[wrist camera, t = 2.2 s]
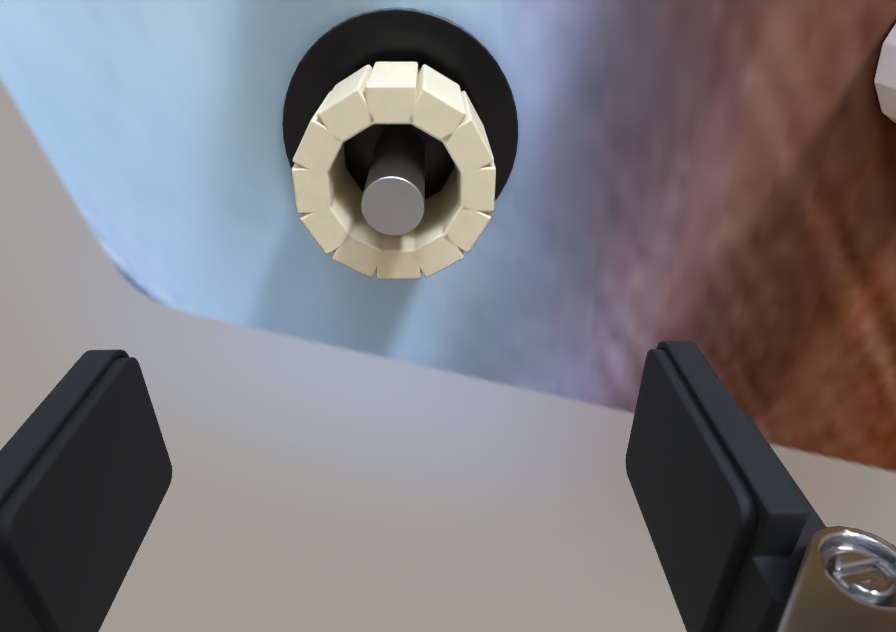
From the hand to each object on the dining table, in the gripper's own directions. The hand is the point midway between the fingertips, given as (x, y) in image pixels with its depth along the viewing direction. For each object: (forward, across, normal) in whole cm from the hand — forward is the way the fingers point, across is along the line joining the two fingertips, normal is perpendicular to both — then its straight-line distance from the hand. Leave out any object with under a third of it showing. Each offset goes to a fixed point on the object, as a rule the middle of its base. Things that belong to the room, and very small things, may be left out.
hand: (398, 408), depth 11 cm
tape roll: (+15, +1, 0) cm, 15 cm away
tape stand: (+18, +1, 0) cm, 18 cm away
